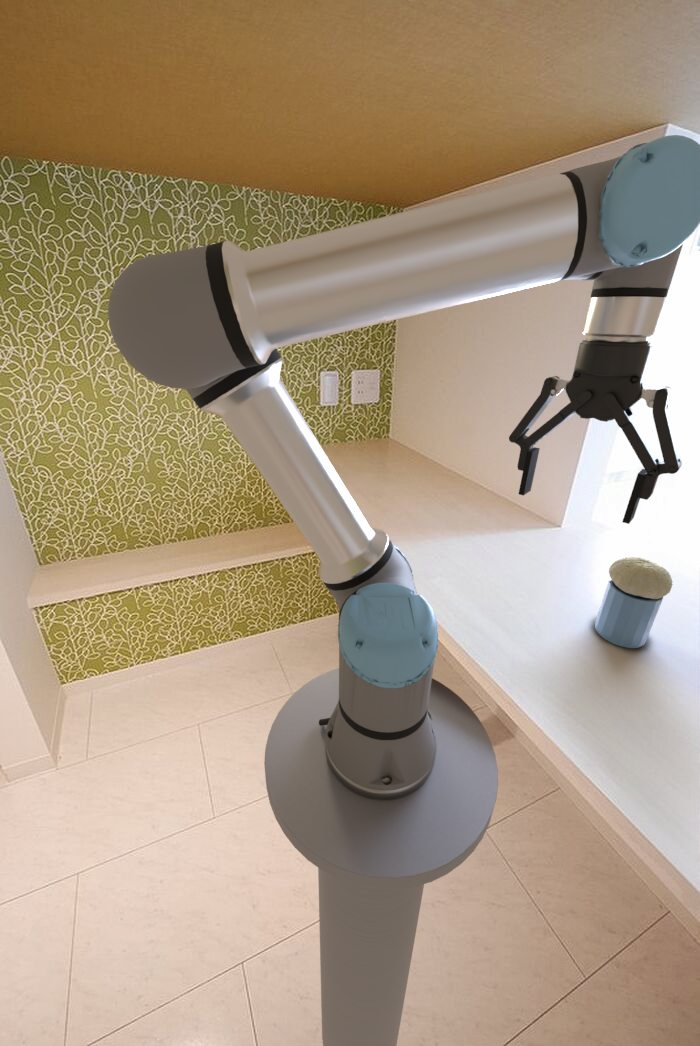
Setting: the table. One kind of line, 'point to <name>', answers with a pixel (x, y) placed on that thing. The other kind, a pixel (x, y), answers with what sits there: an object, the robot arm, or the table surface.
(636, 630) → the tumbler
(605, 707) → the table surface
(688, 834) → the table surface
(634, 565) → the sea urchin shell
